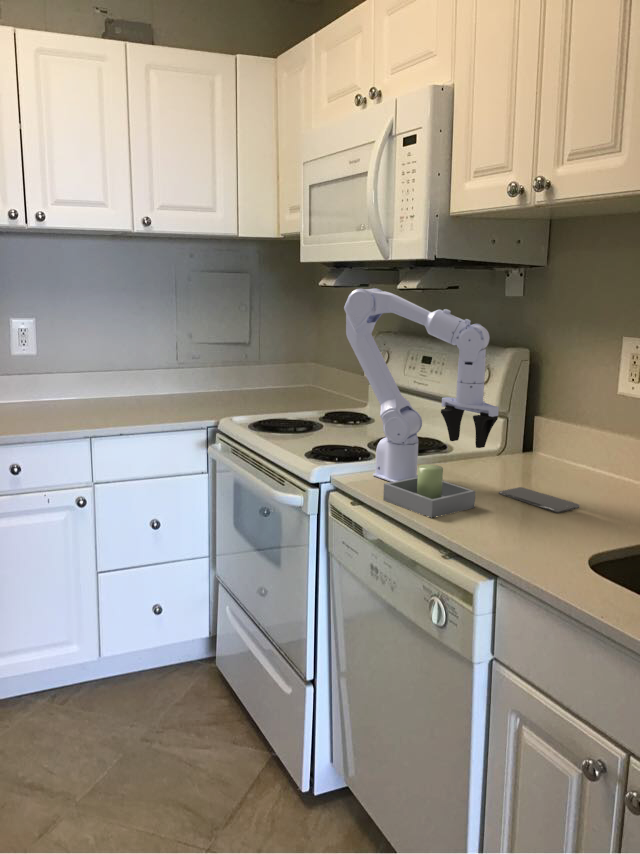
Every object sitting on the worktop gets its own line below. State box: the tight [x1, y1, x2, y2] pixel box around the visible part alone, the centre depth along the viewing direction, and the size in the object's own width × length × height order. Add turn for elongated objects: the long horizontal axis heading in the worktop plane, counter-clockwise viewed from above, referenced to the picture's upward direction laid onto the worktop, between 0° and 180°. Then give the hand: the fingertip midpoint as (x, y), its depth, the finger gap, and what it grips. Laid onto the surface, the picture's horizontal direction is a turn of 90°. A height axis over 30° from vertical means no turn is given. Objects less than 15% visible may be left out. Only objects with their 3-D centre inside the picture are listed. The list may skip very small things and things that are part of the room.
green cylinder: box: [417, 464, 444, 499], centre depth 149 cm, size 5×5×7 cm
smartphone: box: [498, 486, 581, 514], centre depth 153 cm, size 7×1×16 cm
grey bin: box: [382, 477, 476, 519], centre depth 149 cm, size 14×12×4 cm
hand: (466, 443), depth 159 cm, fingers open, 7 cm apart
